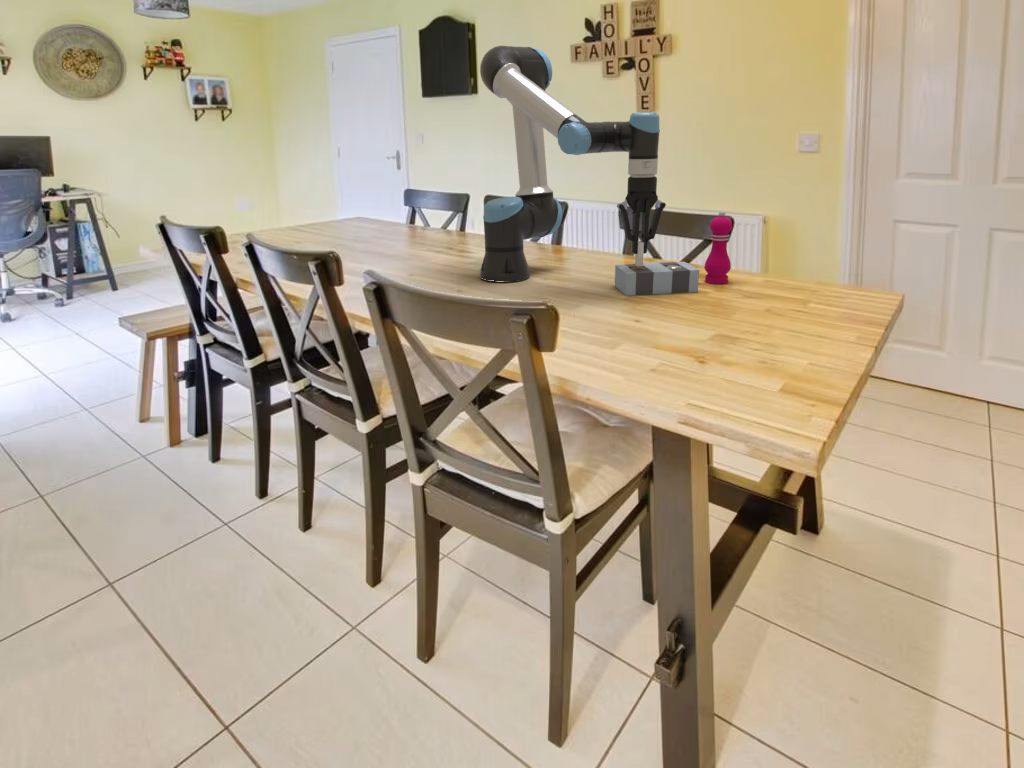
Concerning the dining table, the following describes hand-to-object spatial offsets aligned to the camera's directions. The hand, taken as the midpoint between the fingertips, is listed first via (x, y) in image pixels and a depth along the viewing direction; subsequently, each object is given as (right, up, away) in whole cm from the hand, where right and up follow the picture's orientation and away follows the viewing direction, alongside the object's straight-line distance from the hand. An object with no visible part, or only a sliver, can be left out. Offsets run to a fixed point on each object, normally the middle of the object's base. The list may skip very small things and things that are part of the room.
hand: (638, 265), depth 184 cm
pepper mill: (+24, -3, +9) cm, 26 cm away
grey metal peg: (+10, -6, +3) cm, 12 cm away
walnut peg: (0, -6, +2) cm, 7 cm away
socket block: (+5, -6, +3) cm, 8 cm away
